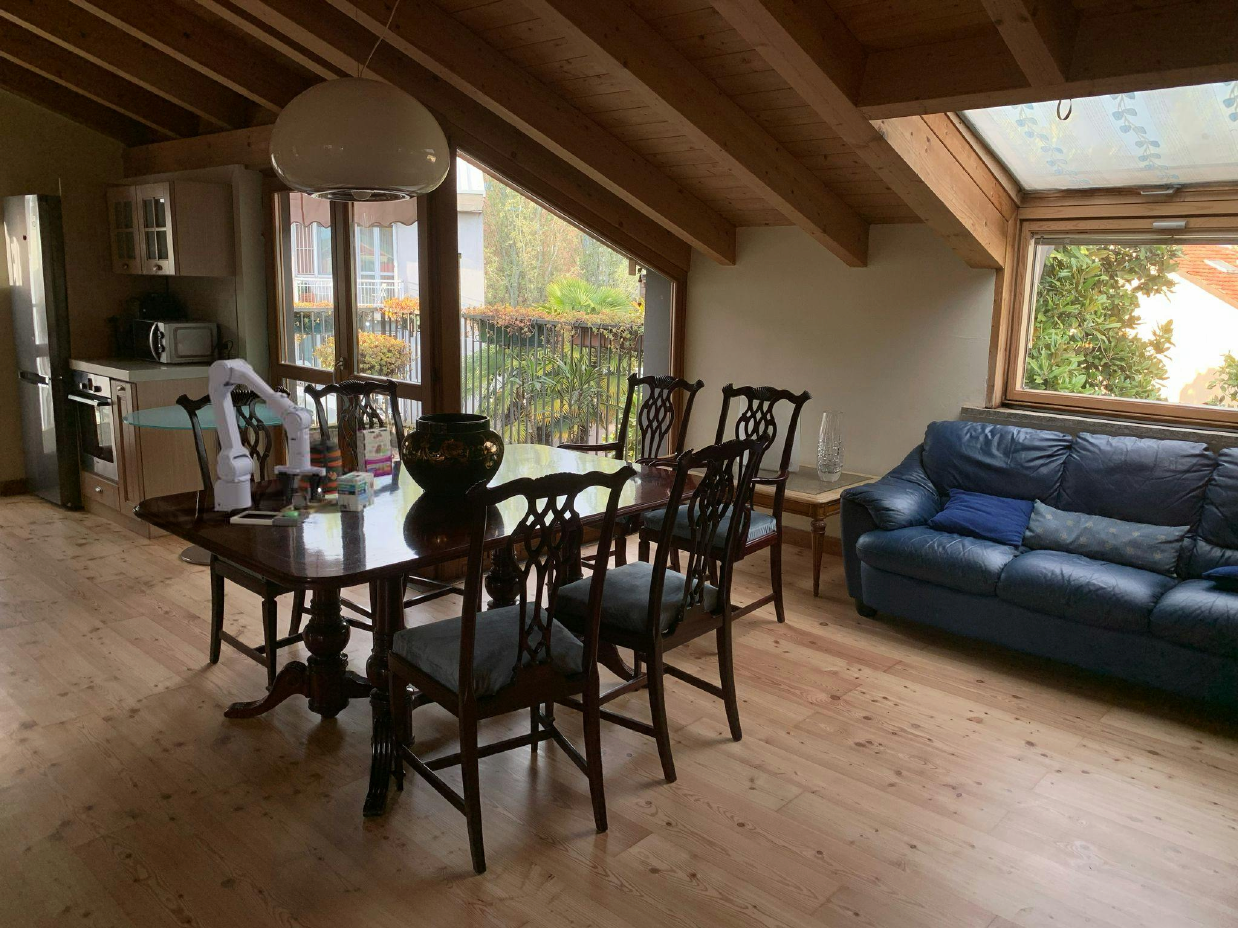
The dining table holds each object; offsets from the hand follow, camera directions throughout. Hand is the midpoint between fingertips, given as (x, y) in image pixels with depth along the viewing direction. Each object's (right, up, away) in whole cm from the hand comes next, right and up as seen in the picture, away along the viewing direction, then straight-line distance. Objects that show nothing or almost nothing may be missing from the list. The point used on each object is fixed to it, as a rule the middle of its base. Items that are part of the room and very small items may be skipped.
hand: (301, 498), depth 268 cm
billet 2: (+1, -2, +9) cm, 10 cm away
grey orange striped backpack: (-2, 0, +26) cm, 26 cm away
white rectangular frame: (-9, -6, -8) cm, 13 cm away
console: (+1, -7, -10) cm, 12 cm away
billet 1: (0, -4, 0) cm, 4 cm away
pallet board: (+1, -4, +5) cm, 7 cm away
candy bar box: (+6, +6, +58) cm, 59 cm away
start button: (+1, -5, -10) cm, 11 cm away
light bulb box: (+14, -4, +8) cm, 16 cm away
